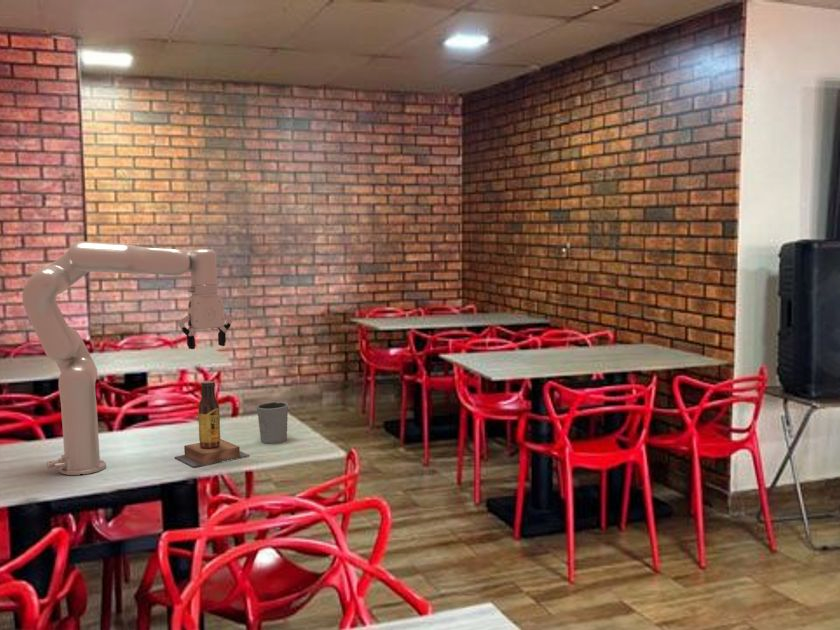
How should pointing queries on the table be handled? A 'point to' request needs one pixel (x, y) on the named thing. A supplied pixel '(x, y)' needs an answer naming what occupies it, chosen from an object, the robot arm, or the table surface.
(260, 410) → the grey cup
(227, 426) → the table surface
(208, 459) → the brown block with base
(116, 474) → the table surface
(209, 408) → the sauce bottle
